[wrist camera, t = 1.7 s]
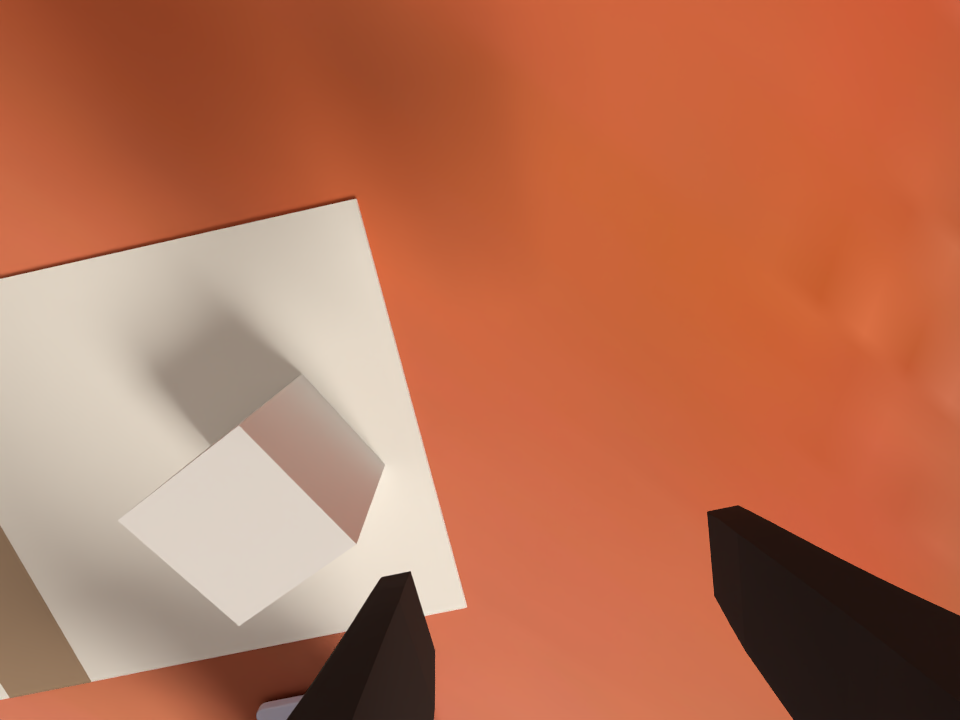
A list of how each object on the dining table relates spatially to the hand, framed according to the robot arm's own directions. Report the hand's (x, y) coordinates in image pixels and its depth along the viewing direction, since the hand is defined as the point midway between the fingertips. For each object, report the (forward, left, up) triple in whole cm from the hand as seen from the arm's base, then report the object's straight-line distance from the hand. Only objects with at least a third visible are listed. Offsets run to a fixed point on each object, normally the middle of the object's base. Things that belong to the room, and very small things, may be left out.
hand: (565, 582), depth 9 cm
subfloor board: (0, +18, -9) cm, 20 cm away
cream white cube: (0, +9, -10) cm, 13 cm away
